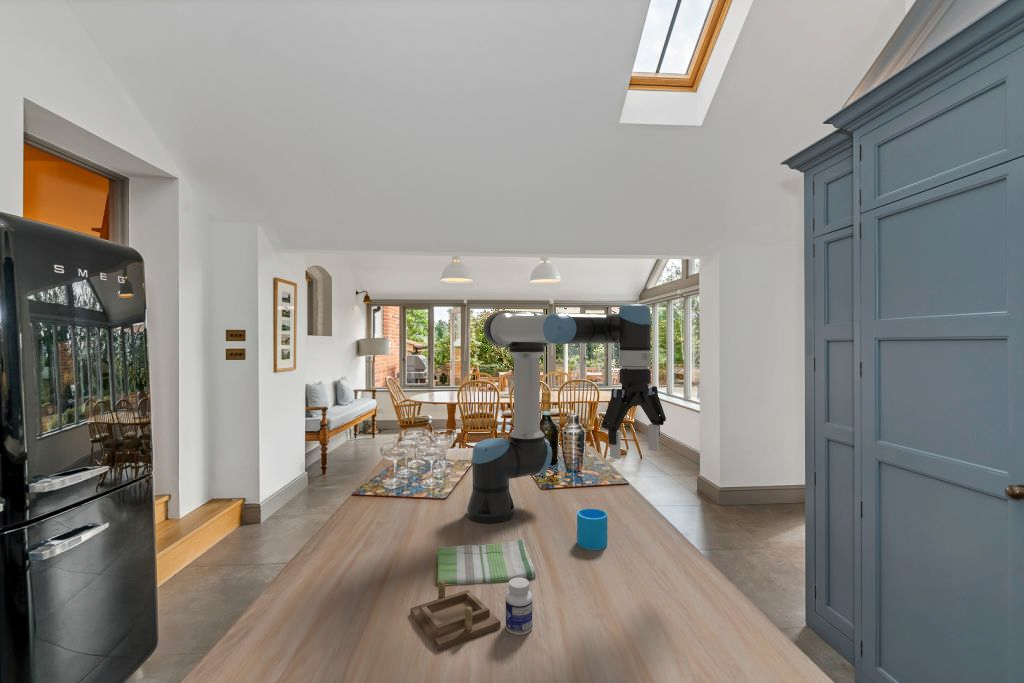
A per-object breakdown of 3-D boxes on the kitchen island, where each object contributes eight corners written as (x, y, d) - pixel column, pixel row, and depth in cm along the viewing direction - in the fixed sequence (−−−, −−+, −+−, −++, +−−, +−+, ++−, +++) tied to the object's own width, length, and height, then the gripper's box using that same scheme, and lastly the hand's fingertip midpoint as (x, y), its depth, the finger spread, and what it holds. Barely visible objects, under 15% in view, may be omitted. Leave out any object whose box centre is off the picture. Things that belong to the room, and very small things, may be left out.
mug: (611, 548, 130) (611, 518, 130) (582, 551, 129) (582, 520, 129) (596, 531, 142) (596, 503, 142) (569, 533, 140) (569, 504, 140)
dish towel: (536, 581, 114) (536, 566, 114) (436, 589, 110) (436, 573, 110) (524, 549, 131) (524, 536, 131) (437, 555, 127) (437, 542, 127)
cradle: (410, 613, 99) (410, 588, 99) (467, 595, 107) (466, 571, 106) (439, 650, 88) (438, 622, 88) (500, 627, 95) (500, 600, 95)
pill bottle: (504, 620, 97) (504, 576, 97) (530, 619, 98) (530, 575, 98) (506, 636, 92) (506, 589, 92) (534, 635, 92) (534, 588, 92)
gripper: (609, 370, 110) (609, 464, 110) (680, 366, 123) (680, 450, 124) (586, 368, 116) (586, 457, 116) (656, 365, 130) (656, 444, 130)
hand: (635, 454), depth 120 cm, fingers open, 13 cm apart
